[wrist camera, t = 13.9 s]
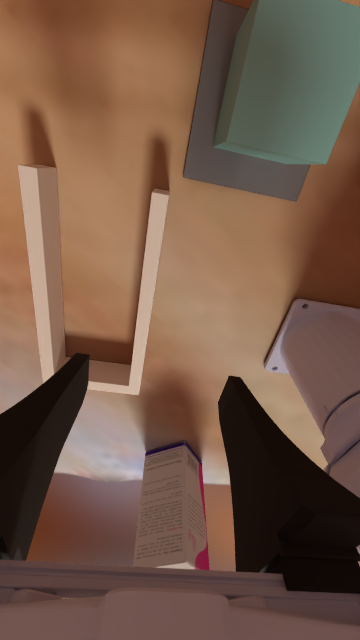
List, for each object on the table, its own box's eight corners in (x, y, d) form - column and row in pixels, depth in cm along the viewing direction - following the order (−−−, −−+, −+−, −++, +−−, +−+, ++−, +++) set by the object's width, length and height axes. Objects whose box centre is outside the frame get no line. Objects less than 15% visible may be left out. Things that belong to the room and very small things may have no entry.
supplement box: (143, 452, 33) (130, 572, 24) (185, 439, 32) (189, 560, 22) (163, 474, 36) (159, 590, 26) (203, 463, 35) (214, 580, 25)
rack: (169, 191, 18) (168, 195, 15) (142, 374, 26) (138, 395, 24) (40, 164, 17) (18, 164, 14) (55, 363, 25) (43, 383, 23)
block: (323, 60, 14) (387, 15, 10) (287, 164, 17) (326, 164, 12) (236, 35, 14) (264, -23, 9) (212, 146, 16) (226, 140, 12)
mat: (354, 43, 14) (357, 41, 14) (294, 201, 18) (296, 201, 18) (212, 2, 13) (213, -1, 13) (183, 177, 17) (183, 177, 17)
